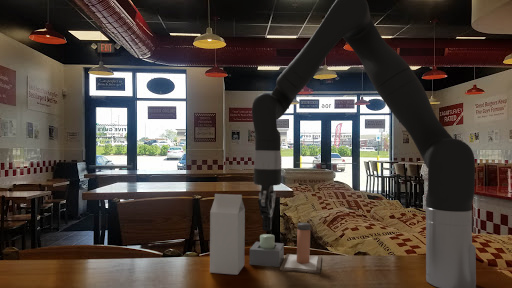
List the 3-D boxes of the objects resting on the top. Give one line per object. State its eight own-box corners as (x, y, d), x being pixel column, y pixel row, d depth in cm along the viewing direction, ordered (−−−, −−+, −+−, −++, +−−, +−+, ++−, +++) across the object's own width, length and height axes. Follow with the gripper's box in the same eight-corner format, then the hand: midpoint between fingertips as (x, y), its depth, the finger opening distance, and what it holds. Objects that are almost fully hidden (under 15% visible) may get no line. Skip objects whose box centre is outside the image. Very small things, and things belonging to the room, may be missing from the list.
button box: (283, 257, 98) (283, 243, 98) (279, 266, 90) (279, 251, 90) (256, 255, 99) (256, 241, 99) (249, 264, 91) (249, 249, 92)
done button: (275, 252, 96) (275, 234, 96) (273, 257, 92) (273, 238, 92) (261, 251, 97) (261, 233, 97) (258, 255, 93) (258, 237, 93)
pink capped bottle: (309, 259, 94) (310, 223, 94) (309, 264, 90) (310, 226, 90) (296, 258, 94) (297, 222, 94) (295, 263, 91) (297, 225, 91)
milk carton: (237, 275, 83) (238, 196, 84) (209, 273, 85) (210, 195, 85) (244, 265, 90) (244, 193, 91) (218, 264, 92) (219, 192, 92)
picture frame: (321, 257, 98) (321, 255, 98) (319, 273, 85) (319, 271, 85) (286, 255, 100) (286, 253, 100) (279, 270, 87) (279, 267, 87)
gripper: (277, 168, 88) (276, 237, 87) (284, 166, 101) (283, 226, 100) (248, 168, 89) (247, 235, 89) (259, 165, 102) (258, 224, 102)
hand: (266, 230), depth 95 cm, fingers closed
